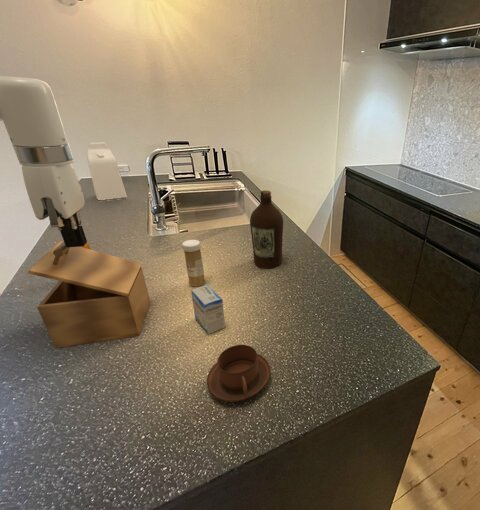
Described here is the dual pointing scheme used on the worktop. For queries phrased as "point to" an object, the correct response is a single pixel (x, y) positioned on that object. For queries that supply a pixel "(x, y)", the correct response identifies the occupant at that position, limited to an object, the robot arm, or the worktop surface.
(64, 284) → the chest
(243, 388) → the cup and saucer
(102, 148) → the milk
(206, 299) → the medicine box
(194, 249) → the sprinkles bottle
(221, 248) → the worktop surface
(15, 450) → the worktop surface
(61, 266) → the lid
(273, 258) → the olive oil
